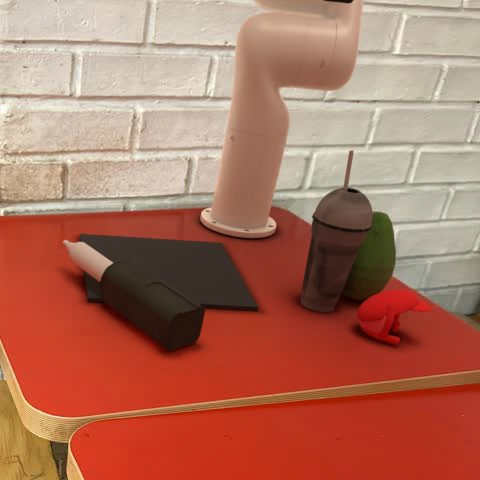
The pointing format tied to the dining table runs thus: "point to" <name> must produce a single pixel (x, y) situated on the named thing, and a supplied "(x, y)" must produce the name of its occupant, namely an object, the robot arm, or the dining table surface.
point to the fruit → (373, 260)
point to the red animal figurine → (387, 313)
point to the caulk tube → (142, 298)
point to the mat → (178, 268)
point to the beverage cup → (334, 244)
